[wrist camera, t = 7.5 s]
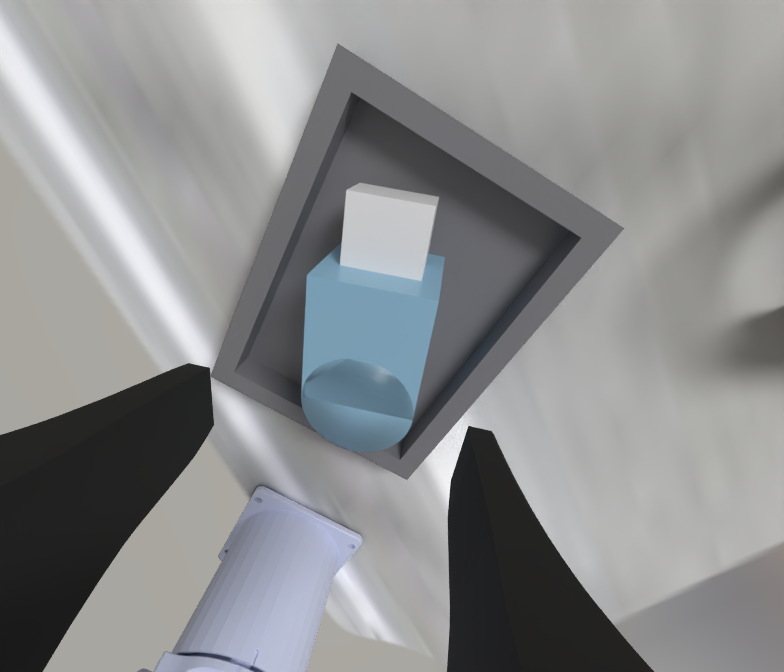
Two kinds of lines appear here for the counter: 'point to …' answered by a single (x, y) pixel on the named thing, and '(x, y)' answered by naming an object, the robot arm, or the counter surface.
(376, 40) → the counter surface
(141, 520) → the robot arm
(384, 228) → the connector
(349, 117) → the tray
